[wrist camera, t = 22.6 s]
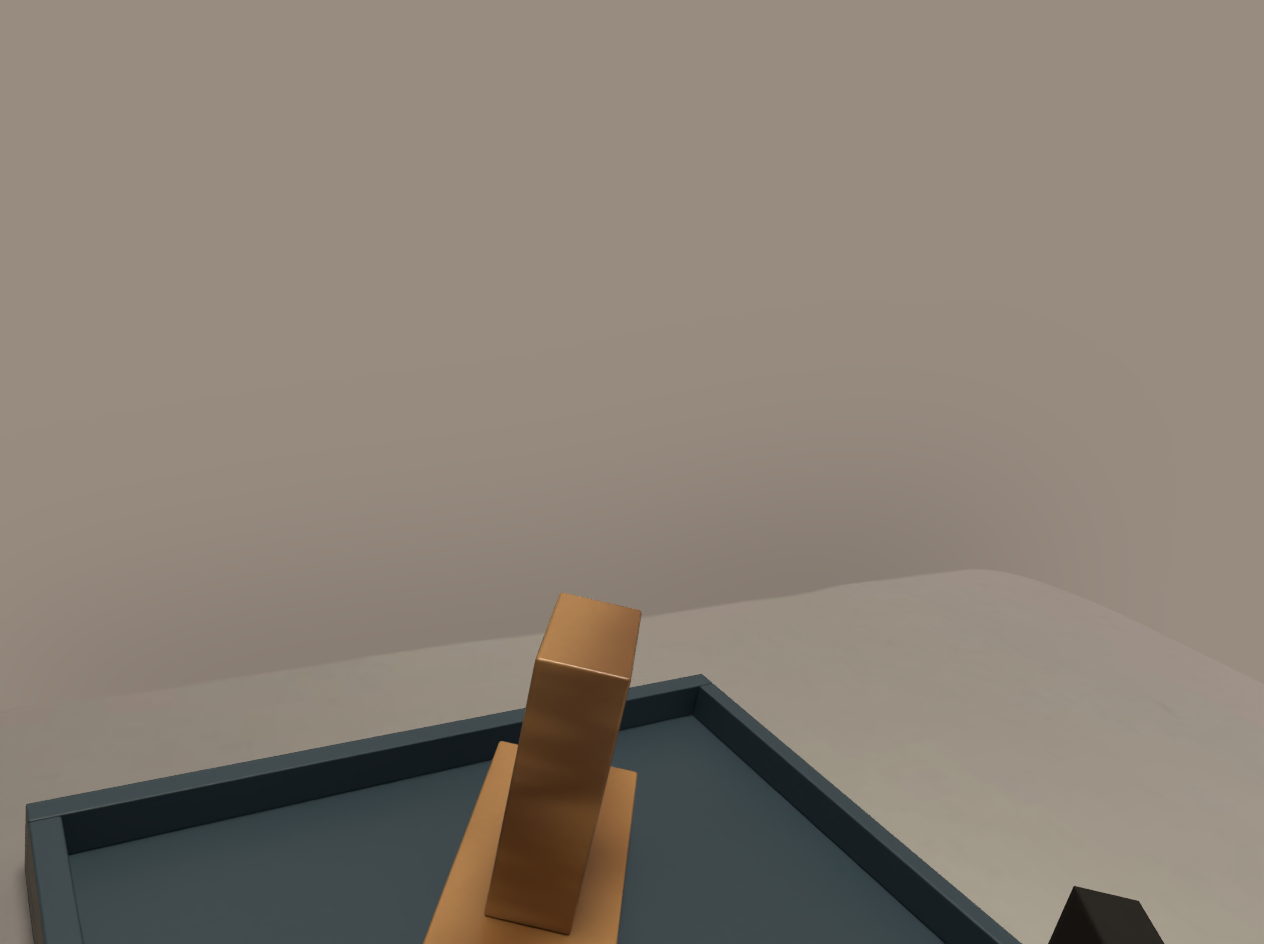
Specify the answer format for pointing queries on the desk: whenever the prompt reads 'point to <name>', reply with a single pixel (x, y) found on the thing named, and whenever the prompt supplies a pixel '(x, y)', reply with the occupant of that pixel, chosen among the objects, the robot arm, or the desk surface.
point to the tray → (436, 822)
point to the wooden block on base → (553, 799)
